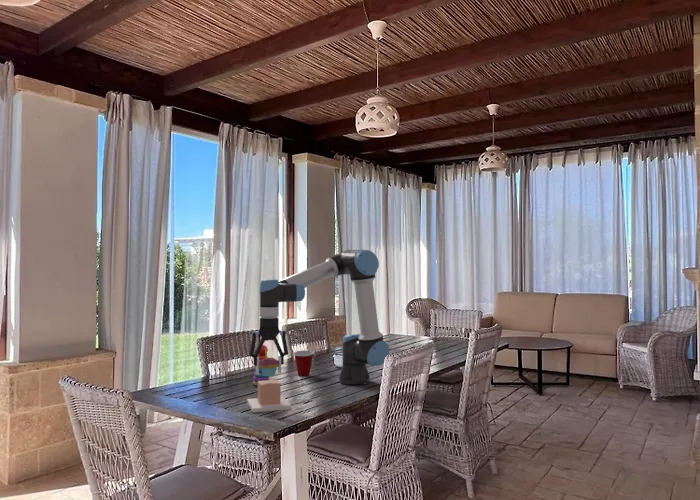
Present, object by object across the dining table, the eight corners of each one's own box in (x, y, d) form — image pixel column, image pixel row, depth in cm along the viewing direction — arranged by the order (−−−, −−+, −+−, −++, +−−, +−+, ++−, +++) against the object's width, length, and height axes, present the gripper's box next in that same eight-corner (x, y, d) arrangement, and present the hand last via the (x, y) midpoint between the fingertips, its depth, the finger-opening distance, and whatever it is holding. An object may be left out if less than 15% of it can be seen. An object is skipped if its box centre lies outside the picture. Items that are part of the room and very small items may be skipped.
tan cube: (276, 399, 217) (276, 379, 217) (280, 403, 210) (280, 383, 210) (257, 400, 214) (257, 381, 214) (260, 405, 207) (260, 384, 208)
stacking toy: (266, 386, 244) (266, 346, 245) (250, 385, 246) (250, 346, 246) (272, 383, 252) (272, 344, 253) (256, 382, 254) (256, 343, 254)
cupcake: (269, 378, 206) (269, 348, 207) (253, 375, 211) (253, 346, 211) (283, 374, 214) (283, 345, 214) (267, 372, 218) (267, 343, 218)
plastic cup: (289, 376, 266) (289, 353, 267) (299, 372, 276) (299, 349, 277) (308, 378, 262) (308, 354, 262) (317, 374, 272) (317, 351, 272)
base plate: (282, 399, 222) (282, 396, 222) (290, 409, 207) (290, 405, 207) (247, 402, 217) (247, 399, 217) (252, 412, 202) (252, 408, 202)
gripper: (292, 315, 220) (291, 369, 219) (241, 317, 213) (241, 373, 212) (296, 317, 213) (296, 373, 212) (244, 319, 206) (243, 376, 205)
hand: (268, 373), depth 212 cm, fingers closed on cupcake, 8 cm apart
